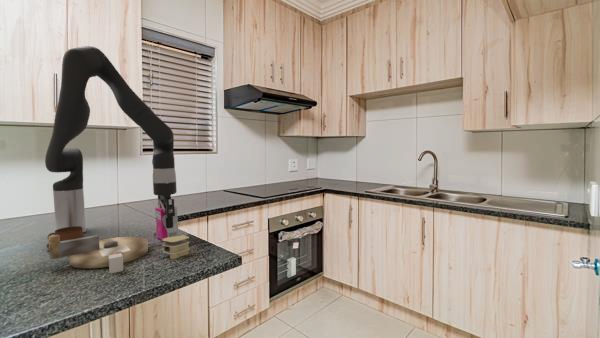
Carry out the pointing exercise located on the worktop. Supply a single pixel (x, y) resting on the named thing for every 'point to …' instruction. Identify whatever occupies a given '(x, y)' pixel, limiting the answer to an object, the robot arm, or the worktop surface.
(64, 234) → the cup and saucer
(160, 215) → the supplement box
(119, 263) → the white block
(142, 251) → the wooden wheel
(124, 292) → the worktop surface
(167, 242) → the beige layered block
